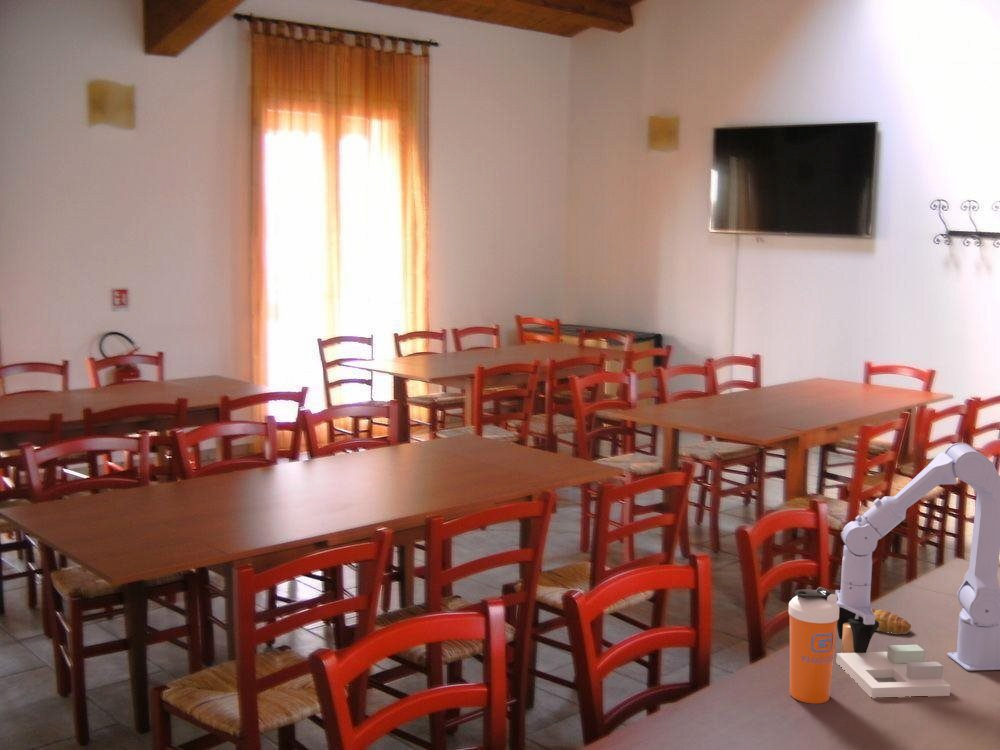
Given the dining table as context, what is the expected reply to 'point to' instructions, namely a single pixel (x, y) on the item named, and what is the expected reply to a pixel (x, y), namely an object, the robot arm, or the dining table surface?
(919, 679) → the housing
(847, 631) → the peg
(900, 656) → the block
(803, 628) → the shaker bottle
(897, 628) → the pastry
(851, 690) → the dining table surface
